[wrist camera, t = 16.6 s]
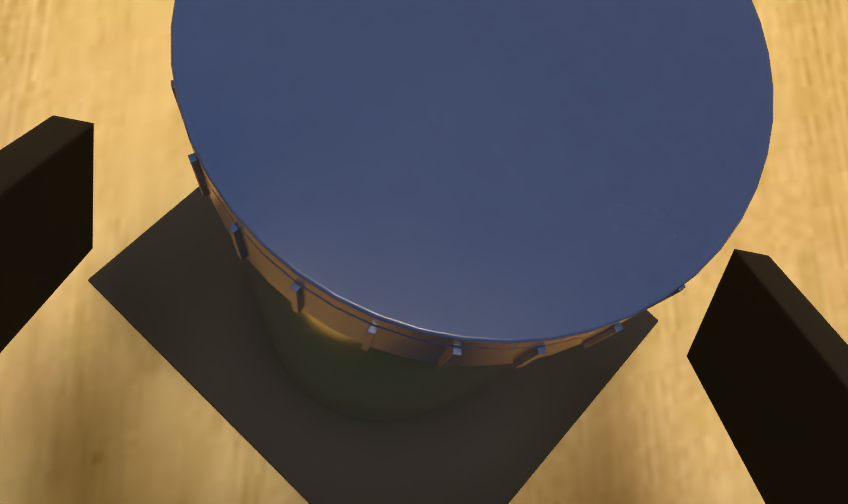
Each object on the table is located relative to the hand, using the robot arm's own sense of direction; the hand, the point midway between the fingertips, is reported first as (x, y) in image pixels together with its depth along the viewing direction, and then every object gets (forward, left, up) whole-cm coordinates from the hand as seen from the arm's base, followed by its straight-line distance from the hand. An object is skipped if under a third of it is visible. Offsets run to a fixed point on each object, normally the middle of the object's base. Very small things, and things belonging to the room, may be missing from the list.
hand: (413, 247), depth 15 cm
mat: (0, +1, -9) cm, 10 cm away
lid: (0, +1, +6) cm, 6 cm away
